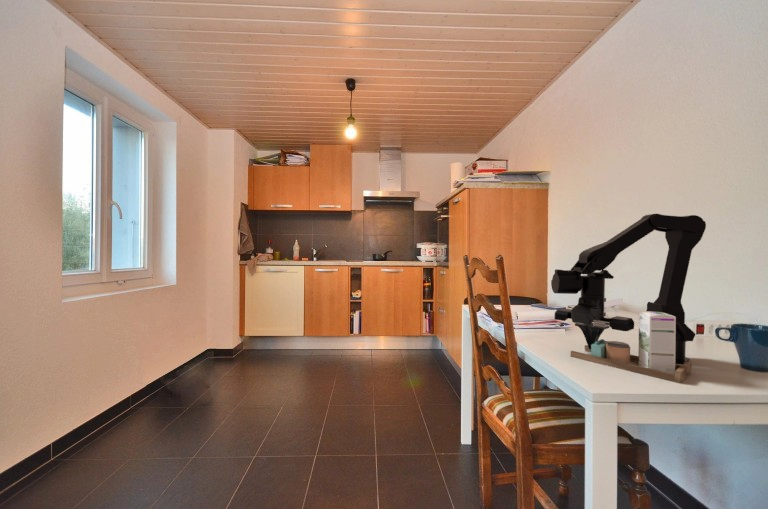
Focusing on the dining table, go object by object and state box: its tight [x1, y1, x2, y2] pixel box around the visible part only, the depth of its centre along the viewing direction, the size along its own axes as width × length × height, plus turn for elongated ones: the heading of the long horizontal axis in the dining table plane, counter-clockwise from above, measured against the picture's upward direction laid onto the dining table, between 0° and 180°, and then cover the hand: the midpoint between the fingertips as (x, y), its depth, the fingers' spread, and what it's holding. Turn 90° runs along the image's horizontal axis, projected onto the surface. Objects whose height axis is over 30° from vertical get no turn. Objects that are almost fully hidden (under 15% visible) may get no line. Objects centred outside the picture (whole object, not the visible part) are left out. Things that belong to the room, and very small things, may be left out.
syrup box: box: [637, 310, 676, 374], centre depth 87 cm, size 6×6×14 cm
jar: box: [606, 340, 631, 364], centre depth 93 cm, size 5×5×5 cm
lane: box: [569, 344, 692, 384], centre depth 92 cm, size 10×24×2 cm, turn 38°
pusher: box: [590, 338, 609, 358], centre depth 97 cm, size 8×2×5 cm, turn 128°
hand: (591, 349), depth 99 cm, fingers closed
